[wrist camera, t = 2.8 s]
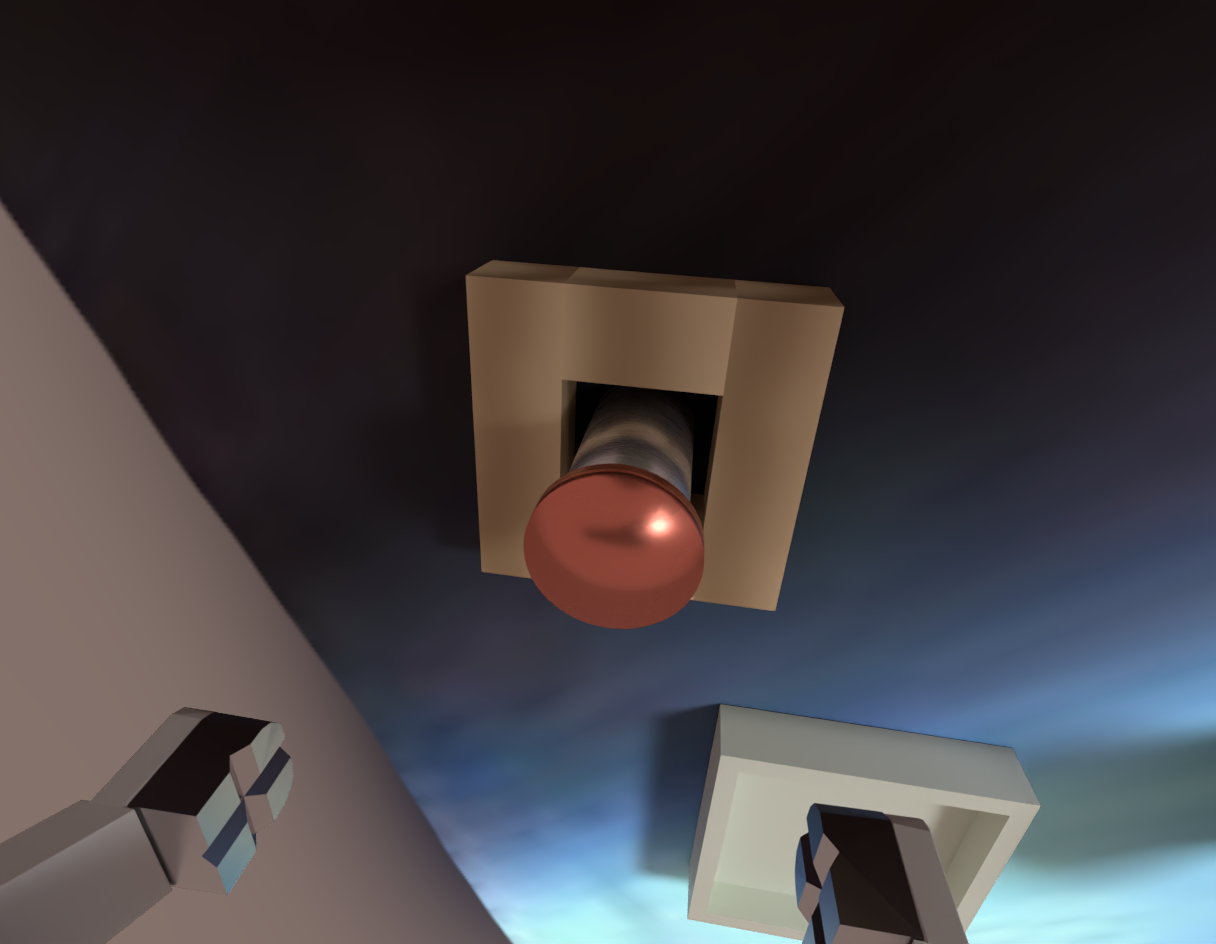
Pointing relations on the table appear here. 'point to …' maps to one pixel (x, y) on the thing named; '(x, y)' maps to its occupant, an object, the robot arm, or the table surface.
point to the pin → (622, 516)
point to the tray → (849, 777)
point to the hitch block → (658, 359)
